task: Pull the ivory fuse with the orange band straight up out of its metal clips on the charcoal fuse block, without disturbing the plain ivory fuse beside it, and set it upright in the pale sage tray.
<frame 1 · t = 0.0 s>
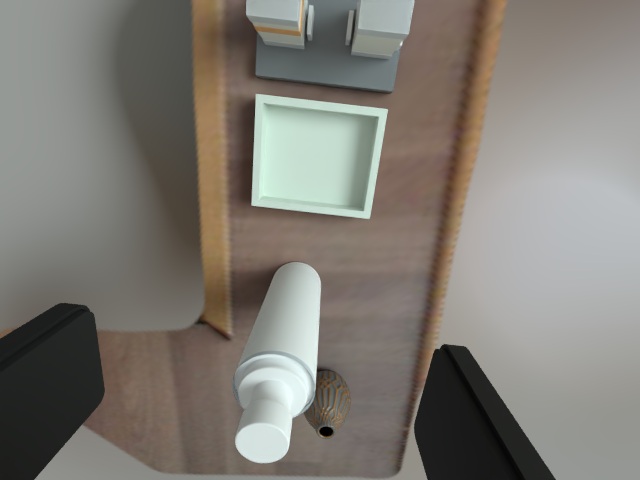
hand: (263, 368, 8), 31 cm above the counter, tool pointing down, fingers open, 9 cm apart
vase: (326, 379, 47), on the counter
tray: (317, 158, 37), on the counter
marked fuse: (286, 24, 31), point 1 cm above the counter, touching fuse block
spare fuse: (373, 34, 31), point 1 cm above the counter, touching fuse block
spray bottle: (296, 283, 42), on the counter
fuse block: (329, 34, 33), on the counter
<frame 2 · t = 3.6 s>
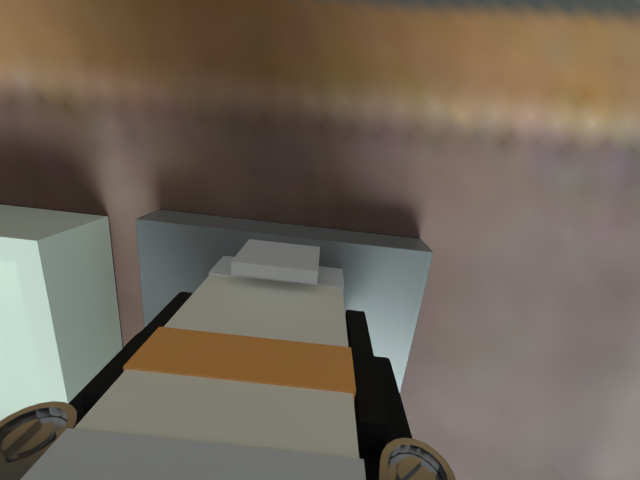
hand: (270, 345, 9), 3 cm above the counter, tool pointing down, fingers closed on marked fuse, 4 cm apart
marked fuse: (279, 313, 11), point 2 cm above the counter, touching fuse block, gripper
fuse block: (277, 381, 14), on the counter
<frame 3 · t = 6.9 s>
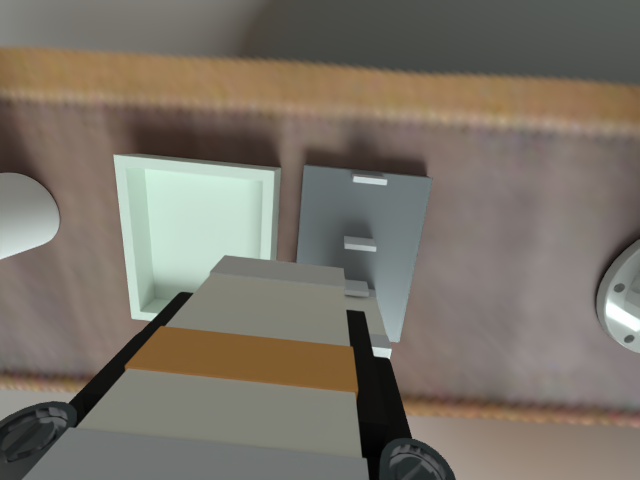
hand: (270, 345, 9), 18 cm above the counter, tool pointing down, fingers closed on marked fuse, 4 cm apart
tray: (210, 240, 27), on the counter
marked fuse: (280, 313, 11), point 16 cm above the counter, touching gripper
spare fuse: (348, 307, 27), point 1 cm above the counter, touching fuse block
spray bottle: (26, 209, 28), on the counter
fuse block: (354, 255, 27), on the counter
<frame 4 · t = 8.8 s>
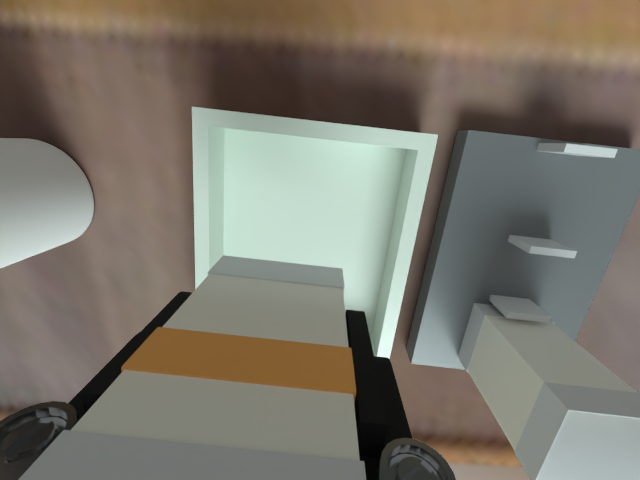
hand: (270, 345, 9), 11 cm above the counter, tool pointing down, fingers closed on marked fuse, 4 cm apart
tray: (306, 238, 20), on the counter
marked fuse: (278, 314, 11), point 9 cm above the counter, touching gripper
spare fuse: (497, 334, 20), point 1 cm above the counter, touching fuse block
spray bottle: (46, 192, 20), on the counter
fuse block: (505, 261, 20), on the counter
when the fingers open (4 cm above the counter, at t = 10.3 s): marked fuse drops 2 cm, resting on tray.
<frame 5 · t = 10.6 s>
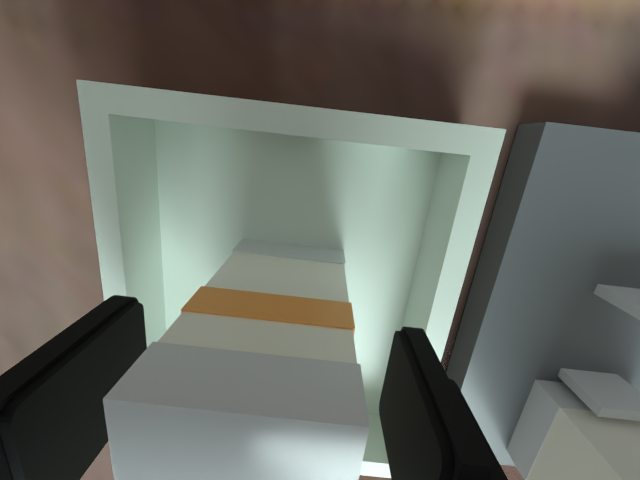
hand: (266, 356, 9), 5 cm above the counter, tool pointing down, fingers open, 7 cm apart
tray: (287, 283, 13), on the counter
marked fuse: (289, 289, 13), point 1 cm above the counter, touching tray
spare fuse: (565, 421, 14), point 1 cm above the counter, touching fuse block
fuse block: (576, 315, 14), on the counter
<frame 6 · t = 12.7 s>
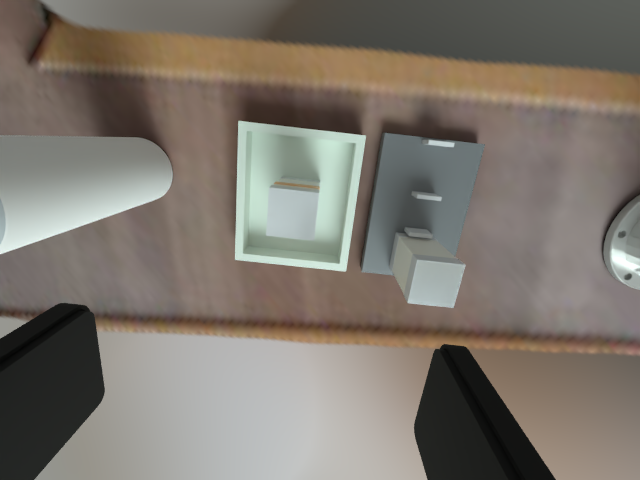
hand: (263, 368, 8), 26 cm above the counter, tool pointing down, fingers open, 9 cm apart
tray: (298, 196, 34), on the counter
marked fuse: (299, 197, 33), point 1 cm above the counter, touching tray
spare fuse: (410, 251, 34), point 1 cm above the counter, touching fuse block
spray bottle: (143, 169, 33), on the counter
fuse block: (415, 209, 34), on the counter
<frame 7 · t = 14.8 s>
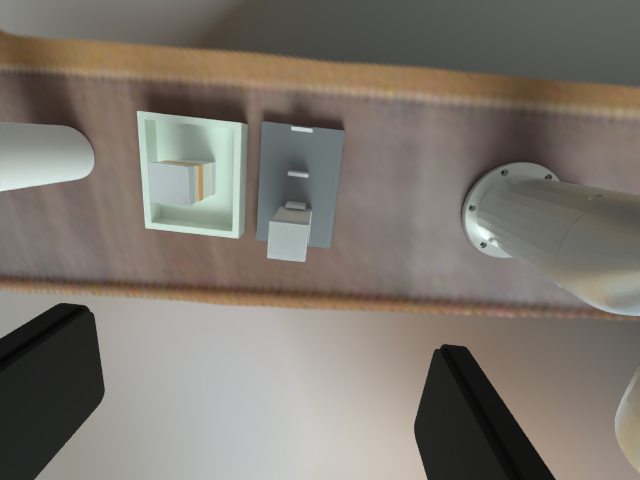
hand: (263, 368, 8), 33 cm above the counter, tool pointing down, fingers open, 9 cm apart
tray: (200, 175, 40), on the counter
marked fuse: (199, 176, 39), point 1 cm above the counter, touching tray
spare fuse: (295, 222, 40), point 1 cm above the counter, touching fuse block
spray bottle: (70, 153, 40), on the counter
fuse block: (299, 186, 40), on the counter
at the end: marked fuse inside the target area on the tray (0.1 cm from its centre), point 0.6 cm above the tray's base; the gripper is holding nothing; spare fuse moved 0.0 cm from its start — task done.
